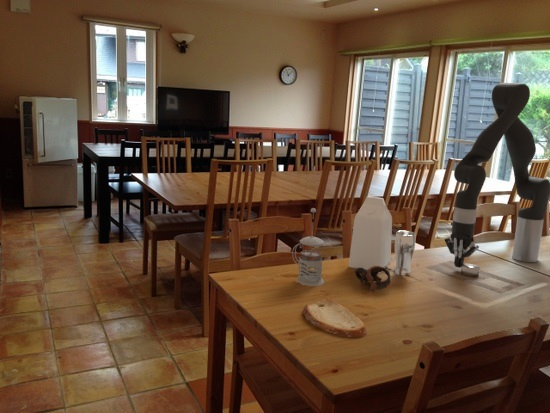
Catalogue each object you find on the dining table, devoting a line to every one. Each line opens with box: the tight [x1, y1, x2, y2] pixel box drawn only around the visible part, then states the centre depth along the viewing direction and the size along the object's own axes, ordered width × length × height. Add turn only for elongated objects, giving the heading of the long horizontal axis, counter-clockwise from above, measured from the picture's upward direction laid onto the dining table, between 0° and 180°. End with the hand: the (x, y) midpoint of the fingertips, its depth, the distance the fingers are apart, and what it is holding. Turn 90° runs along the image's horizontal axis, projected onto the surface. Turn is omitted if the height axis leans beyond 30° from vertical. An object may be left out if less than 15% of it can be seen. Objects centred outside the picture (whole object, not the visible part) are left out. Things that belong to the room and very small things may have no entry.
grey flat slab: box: [425, 260, 525, 294], centre depth 173 cm, size 15×29×1 cm, turn 36°
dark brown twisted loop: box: [354, 266, 392, 293], centre depth 161 cm, size 12×10×8 cm
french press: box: [291, 207, 325, 287], centre depth 163 cm, size 10×12×25 cm
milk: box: [348, 195, 393, 274], centre depth 180 cm, size 12×12×26 cm
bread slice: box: [302, 298, 368, 338], centre depth 135 cm, size 18×18×4 cm
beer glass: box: [393, 230, 417, 277], centre depth 174 cm, size 7×7×15 cm
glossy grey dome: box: [461, 262, 481, 277], centre depth 173 cm, size 6×6×3 cm
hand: (458, 266), depth 177 cm, fingers closed
